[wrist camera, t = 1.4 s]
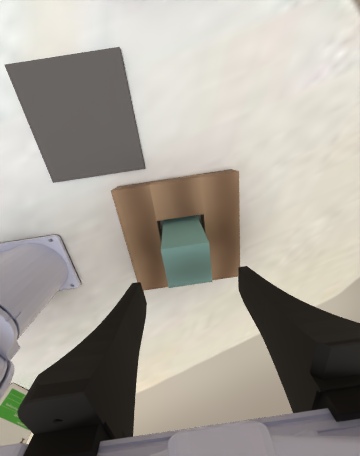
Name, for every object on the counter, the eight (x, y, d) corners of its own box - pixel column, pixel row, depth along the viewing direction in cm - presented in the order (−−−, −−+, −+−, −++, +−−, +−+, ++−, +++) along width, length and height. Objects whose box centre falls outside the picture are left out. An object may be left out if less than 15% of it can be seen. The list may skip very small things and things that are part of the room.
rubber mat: (55, 181, 19) (53, 182, 19) (9, 67, 16) (4, 64, 15) (145, 168, 19) (144, 168, 19) (120, 50, 16) (119, 46, 15)
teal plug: (169, 245, 23) (168, 287, 16) (163, 217, 22) (160, 249, 14) (198, 241, 23) (212, 281, 16) (195, 212, 22) (209, 242, 14)
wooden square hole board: (142, 278, 25) (140, 290, 23) (117, 186, 20) (110, 190, 18) (233, 264, 25) (239, 276, 23) (230, 169, 20) (238, 171, 18)
